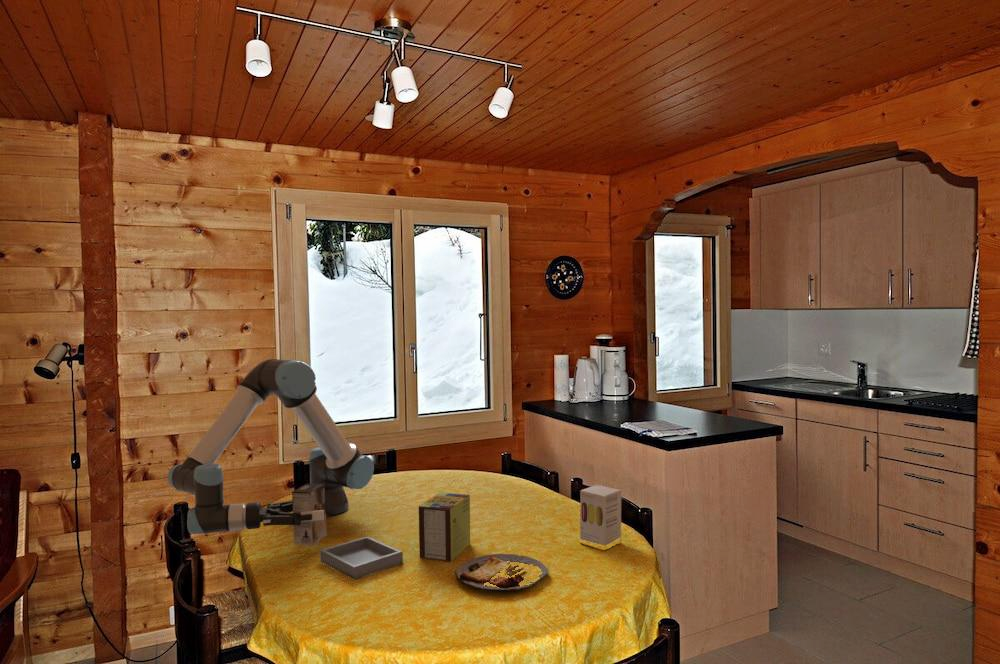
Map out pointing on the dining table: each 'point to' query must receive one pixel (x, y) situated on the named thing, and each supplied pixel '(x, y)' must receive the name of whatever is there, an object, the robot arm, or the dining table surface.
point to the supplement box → (600, 514)
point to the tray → (361, 557)
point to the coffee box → (309, 500)
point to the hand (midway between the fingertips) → (324, 509)
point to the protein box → (444, 526)
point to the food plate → (495, 571)
